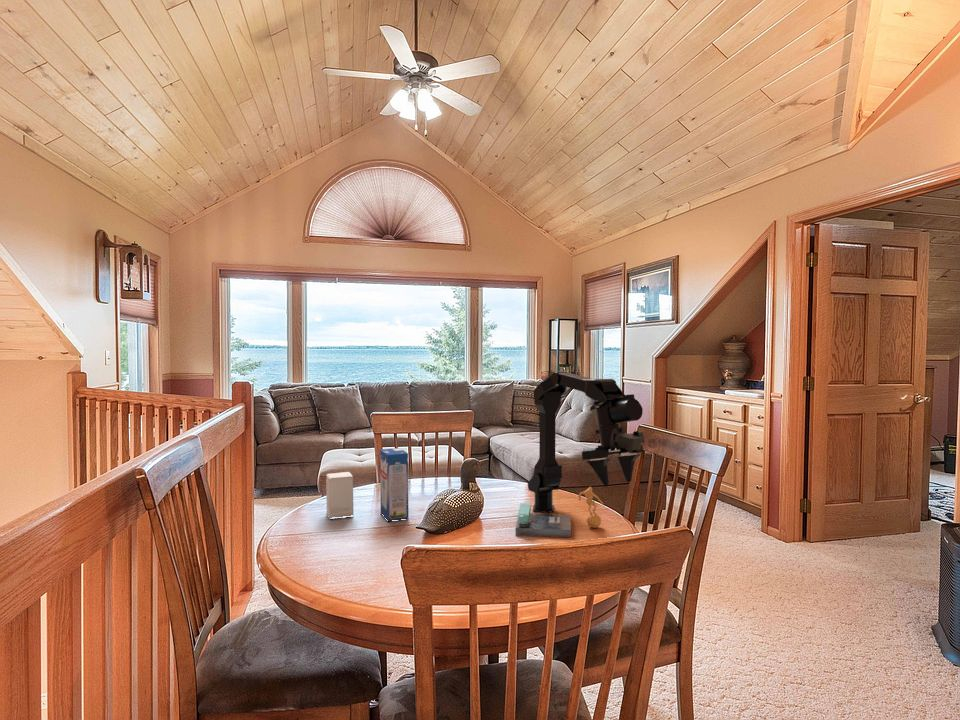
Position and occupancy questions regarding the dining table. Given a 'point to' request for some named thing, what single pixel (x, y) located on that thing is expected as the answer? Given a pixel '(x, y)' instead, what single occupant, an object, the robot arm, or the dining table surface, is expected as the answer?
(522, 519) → the swing bar
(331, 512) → the supplement box
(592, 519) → the figurine
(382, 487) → the milk carton
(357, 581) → the dining table surface
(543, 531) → the server tray
